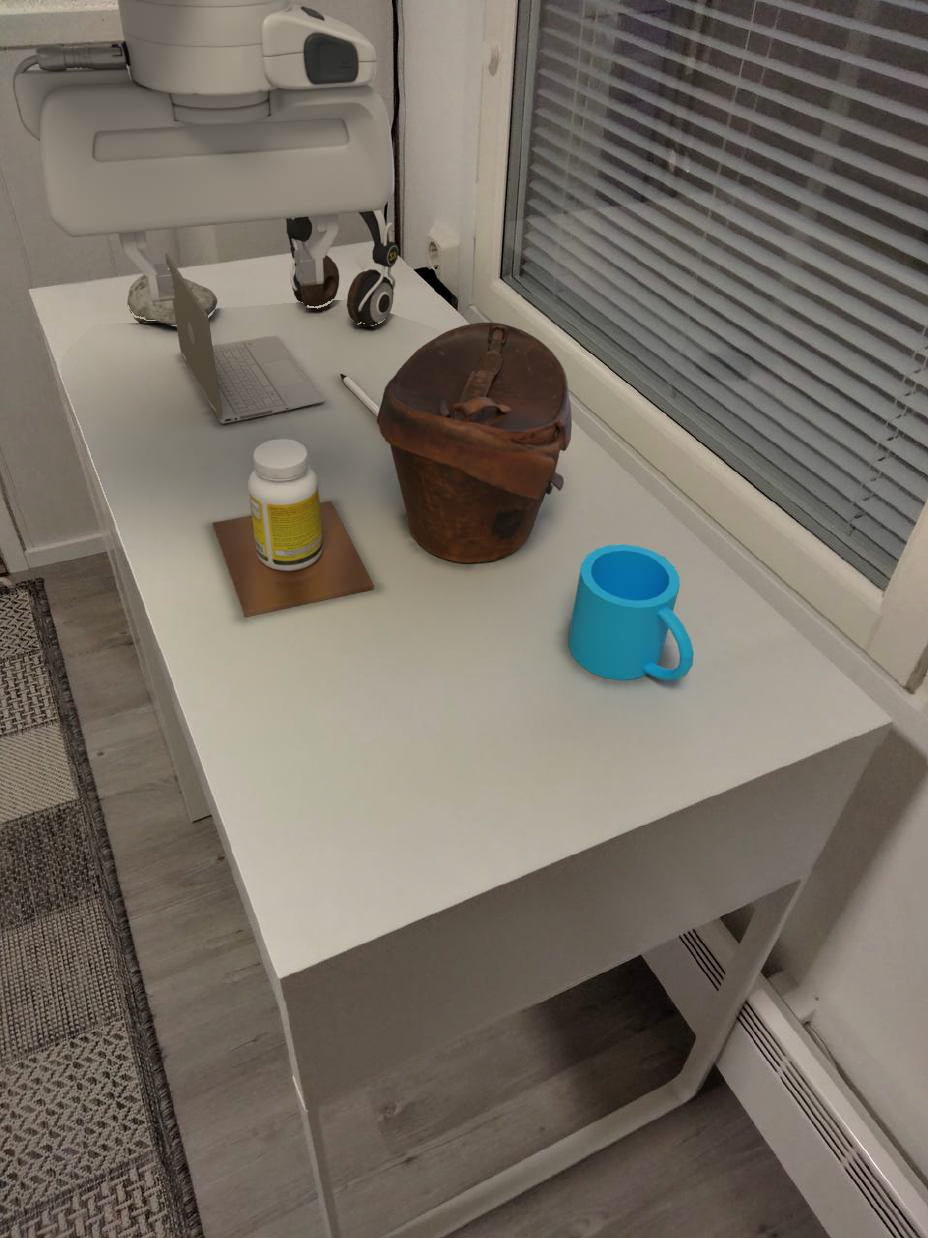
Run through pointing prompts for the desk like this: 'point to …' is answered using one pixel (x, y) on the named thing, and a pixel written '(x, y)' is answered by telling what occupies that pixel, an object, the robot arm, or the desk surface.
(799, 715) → the desk surface
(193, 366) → the laptop
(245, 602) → the brown wooden coaster
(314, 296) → the headset
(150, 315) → the decorative stone
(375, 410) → the pen
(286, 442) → the pill bottle
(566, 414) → the case
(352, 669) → the desk surface
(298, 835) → the desk surface
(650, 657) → the mug
